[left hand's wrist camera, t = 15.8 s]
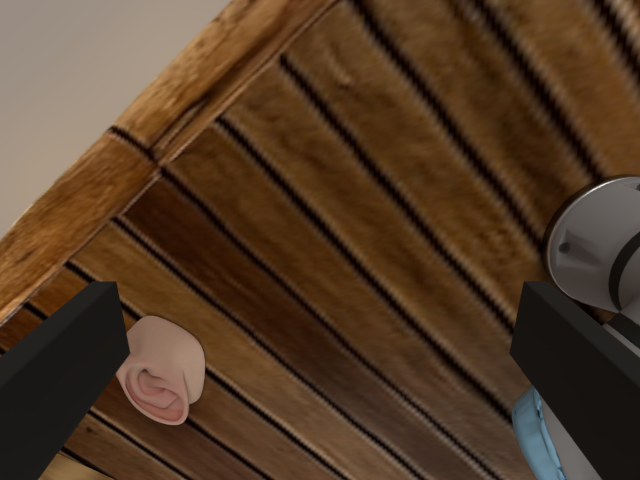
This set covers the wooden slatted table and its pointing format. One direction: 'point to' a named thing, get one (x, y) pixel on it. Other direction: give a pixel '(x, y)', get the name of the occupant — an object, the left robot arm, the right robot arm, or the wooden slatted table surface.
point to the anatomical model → (162, 370)
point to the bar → (70, 471)
